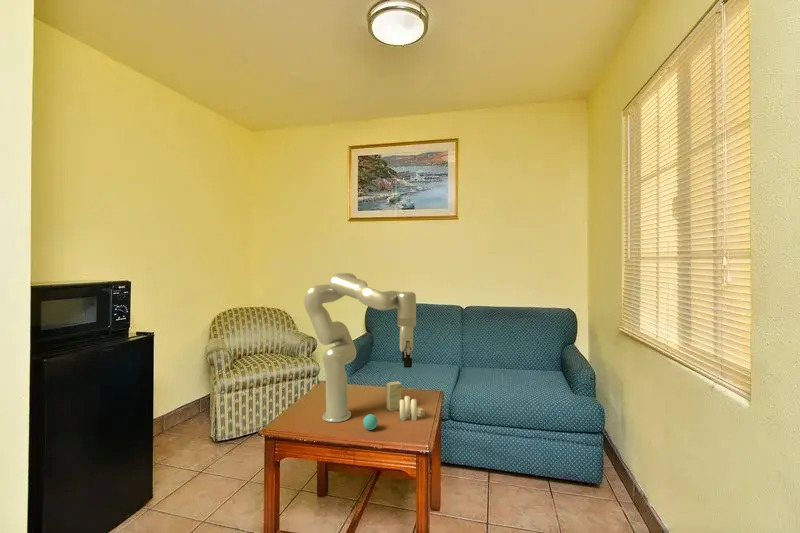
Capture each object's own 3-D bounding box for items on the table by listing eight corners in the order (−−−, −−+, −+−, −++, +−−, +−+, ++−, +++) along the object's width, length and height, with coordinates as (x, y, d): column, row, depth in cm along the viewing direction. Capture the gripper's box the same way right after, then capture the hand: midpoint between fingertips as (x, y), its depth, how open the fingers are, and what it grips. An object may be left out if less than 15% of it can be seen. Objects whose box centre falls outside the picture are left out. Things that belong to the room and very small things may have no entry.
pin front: (398, 419, 162) (398, 400, 162) (403, 418, 163) (403, 399, 163) (402, 421, 160) (401, 401, 160) (406, 420, 161) (406, 400, 161)
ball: (360, 428, 153) (360, 414, 153) (373, 425, 157) (373, 410, 157) (367, 433, 148) (367, 418, 148) (380, 430, 152) (380, 415, 152)
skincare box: (389, 411, 171) (389, 385, 171) (386, 408, 175) (385, 382, 175) (402, 409, 174) (401, 383, 174) (398, 406, 178) (398, 380, 178)
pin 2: (410, 419, 162) (409, 399, 162) (414, 417, 163) (414, 398, 164) (413, 421, 160) (413, 401, 160) (417, 419, 161) (417, 400, 162)
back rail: (406, 409, 174) (406, 402, 174) (409, 408, 174) (409, 402, 174) (422, 417, 164) (421, 410, 164) (424, 416, 164) (424, 410, 164)
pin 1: (403, 415, 166) (403, 396, 166) (408, 414, 168) (407, 395, 168) (406, 417, 164) (406, 398, 164) (411, 415, 166) (411, 396, 166)
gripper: (396, 319, 160) (396, 358, 160) (398, 325, 143) (398, 370, 143) (413, 319, 160) (413, 358, 160) (418, 325, 143) (418, 369, 143)
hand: (406, 364), depth 151 cm, fingers open, 9 cm apart
